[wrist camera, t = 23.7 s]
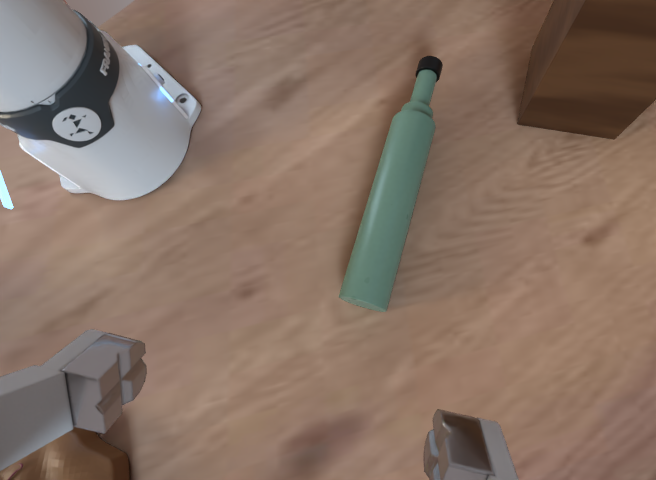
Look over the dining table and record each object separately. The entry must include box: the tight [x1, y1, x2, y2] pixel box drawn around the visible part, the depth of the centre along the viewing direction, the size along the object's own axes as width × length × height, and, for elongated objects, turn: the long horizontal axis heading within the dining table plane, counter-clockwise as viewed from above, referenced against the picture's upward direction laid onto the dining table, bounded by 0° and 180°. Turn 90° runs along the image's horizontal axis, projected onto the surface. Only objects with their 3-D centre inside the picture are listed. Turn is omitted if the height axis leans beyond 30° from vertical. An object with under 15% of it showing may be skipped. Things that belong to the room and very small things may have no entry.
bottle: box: [339, 56, 442, 312], centre depth 36 cm, size 26×4×4 cm
